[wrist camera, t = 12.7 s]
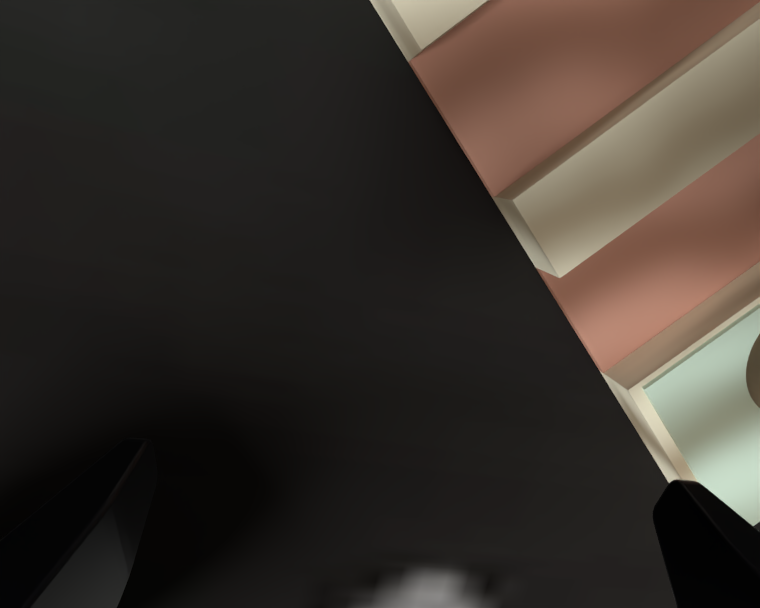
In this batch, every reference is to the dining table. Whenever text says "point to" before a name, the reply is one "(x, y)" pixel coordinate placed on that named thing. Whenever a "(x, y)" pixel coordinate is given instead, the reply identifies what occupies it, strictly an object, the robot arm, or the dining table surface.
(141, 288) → the dining table surface
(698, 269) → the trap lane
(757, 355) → the walnut cylinder
